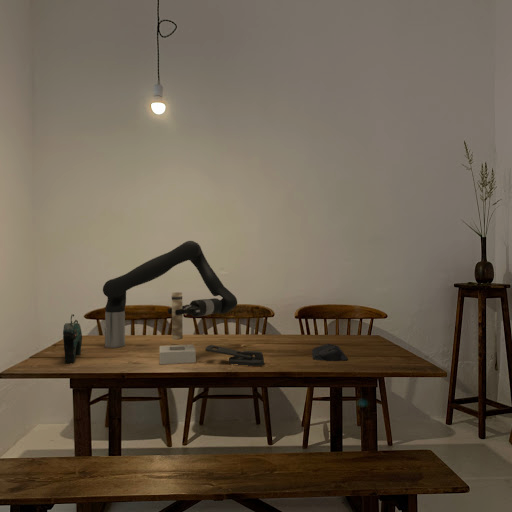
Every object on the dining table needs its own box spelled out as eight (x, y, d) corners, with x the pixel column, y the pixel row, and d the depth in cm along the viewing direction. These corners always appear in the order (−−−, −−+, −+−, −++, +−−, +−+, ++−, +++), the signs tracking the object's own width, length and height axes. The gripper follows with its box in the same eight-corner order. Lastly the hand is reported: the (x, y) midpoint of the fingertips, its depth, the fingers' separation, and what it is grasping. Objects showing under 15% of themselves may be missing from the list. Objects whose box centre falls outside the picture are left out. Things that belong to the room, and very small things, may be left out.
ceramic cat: (75, 364, 198) (75, 317, 197) (59, 365, 197) (58, 317, 196) (84, 353, 218) (84, 310, 217) (69, 353, 216) (69, 310, 216)
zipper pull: (209, 344, 208) (265, 346, 203) (209, 359, 208) (265, 362, 203) (203, 348, 199) (261, 351, 194) (203, 364, 199) (261, 367, 194)
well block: (159, 364, 198) (159, 352, 198) (159, 357, 211) (159, 345, 211) (195, 362, 201) (195, 351, 201) (193, 355, 214) (193, 344, 214)
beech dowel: (172, 340, 203) (171, 293, 202) (172, 337, 208) (171, 292, 207) (183, 339, 204) (182, 293, 203) (182, 337, 208) (182, 292, 208)
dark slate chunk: (343, 350, 226) (343, 340, 226) (348, 362, 204) (348, 351, 204) (311, 350, 227) (311, 340, 227) (312, 361, 205) (312, 350, 205)
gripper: (191, 298, 221) (161, 301, 208) (212, 300, 211) (182, 304, 198) (191, 314, 221) (161, 318, 208) (212, 317, 211) (182, 322, 199)
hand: (172, 311), depth 203 cm, fingers closed on beech dowel, 4 cm apart
